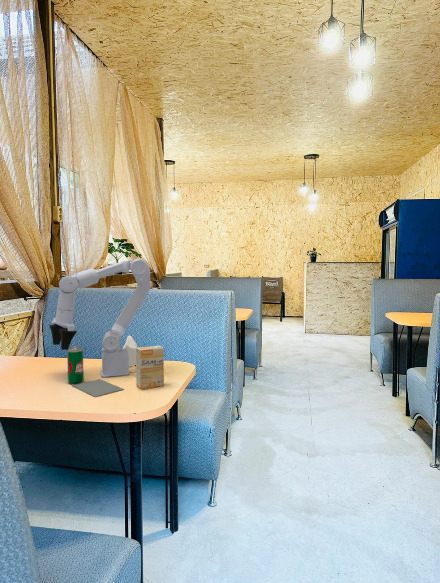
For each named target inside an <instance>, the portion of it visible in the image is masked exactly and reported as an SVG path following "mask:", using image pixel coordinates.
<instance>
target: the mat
mask: <svg viewBox="0 0 440 583" xmlns="http://www.w3.org/2000/svg"><path fill="white" fill-rule="evenodd" d="M71 386H72V387H73V388H75V389H76V390H79V391H81V392H83V393H85V394H87V395H89V396H92V398H97V397H102V396H105V395H109V394H113V393H117V392H121V391H124V390H125V388H123V387H120V386H118V385H116V384H113V383H110V382H108V381H105V380H103V379H101V378H99V379H95V380H91V381H90V380H89V381H85V382H82V383H79V384H71Z"/></svg>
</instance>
